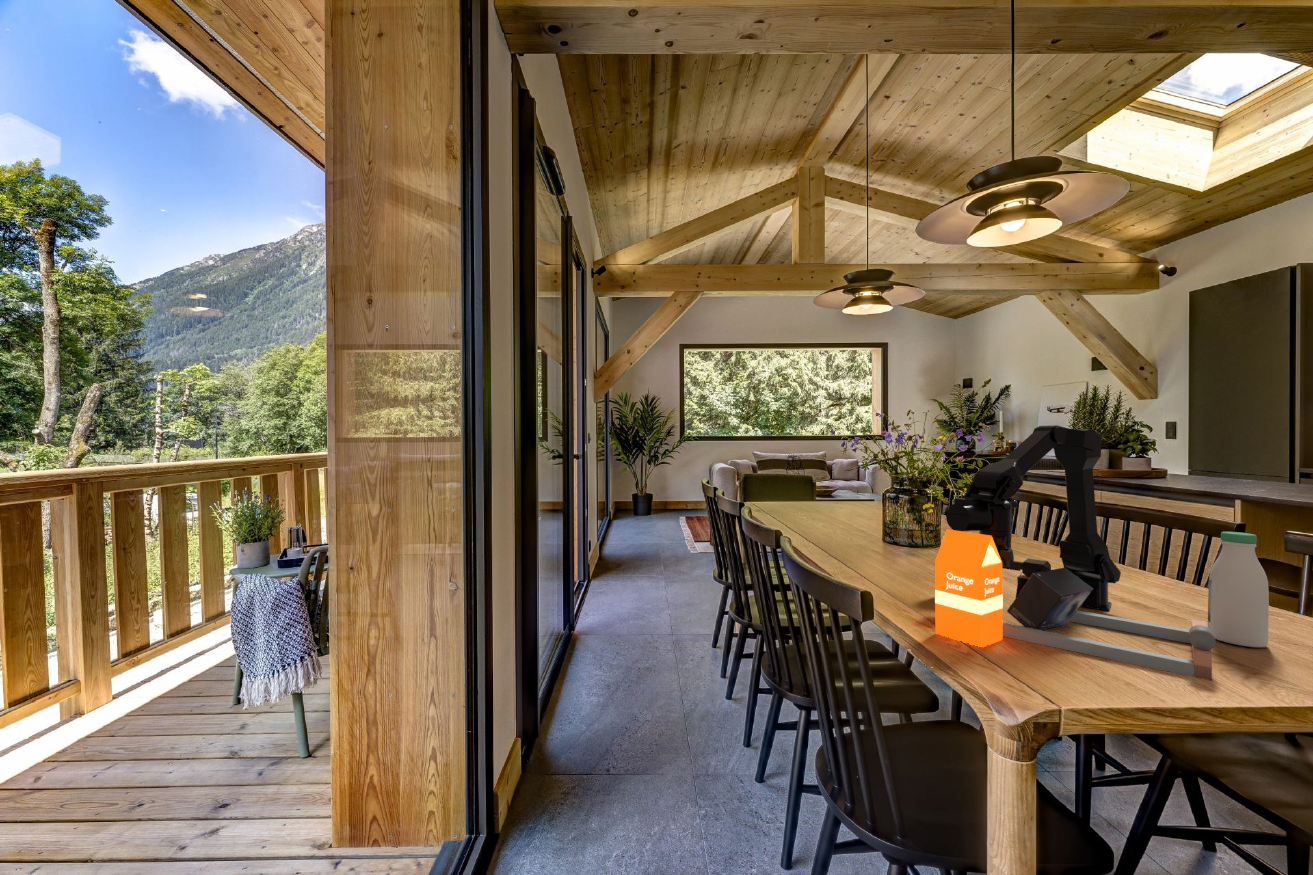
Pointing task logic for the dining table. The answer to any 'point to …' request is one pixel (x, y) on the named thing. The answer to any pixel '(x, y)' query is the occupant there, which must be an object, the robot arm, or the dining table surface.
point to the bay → (1196, 636)
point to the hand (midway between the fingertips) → (994, 603)
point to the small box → (1049, 599)
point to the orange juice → (968, 589)
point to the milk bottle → (1238, 593)
